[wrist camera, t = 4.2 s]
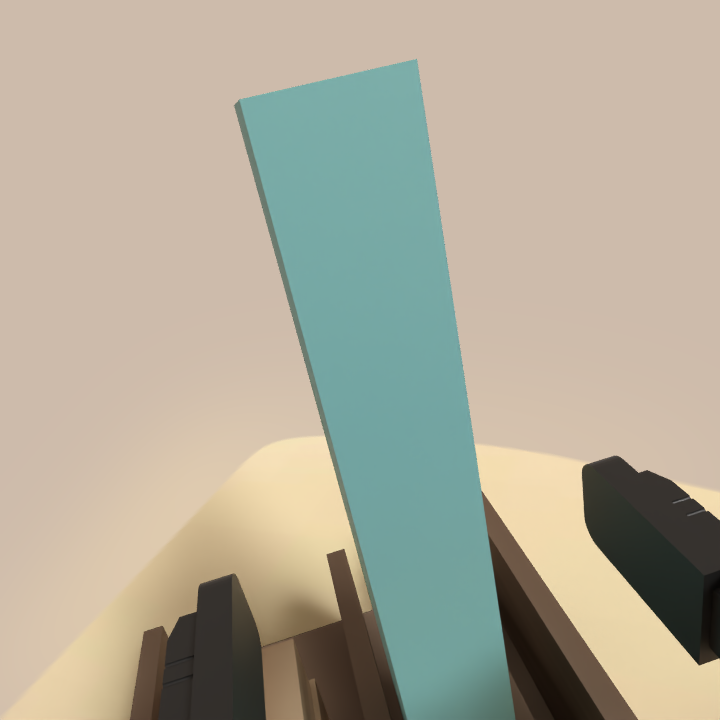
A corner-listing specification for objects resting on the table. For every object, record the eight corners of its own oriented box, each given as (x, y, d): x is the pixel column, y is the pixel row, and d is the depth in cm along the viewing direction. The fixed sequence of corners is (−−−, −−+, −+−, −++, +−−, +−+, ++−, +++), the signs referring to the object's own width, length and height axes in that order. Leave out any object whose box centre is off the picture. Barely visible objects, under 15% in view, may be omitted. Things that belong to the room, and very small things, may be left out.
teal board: (459, 913, 17) (239, 99, 8) (410, 745, 21) (233, 105, 12) (540, 882, 17) (416, 58, 8) (474, 723, 22) (348, 79, 13)
